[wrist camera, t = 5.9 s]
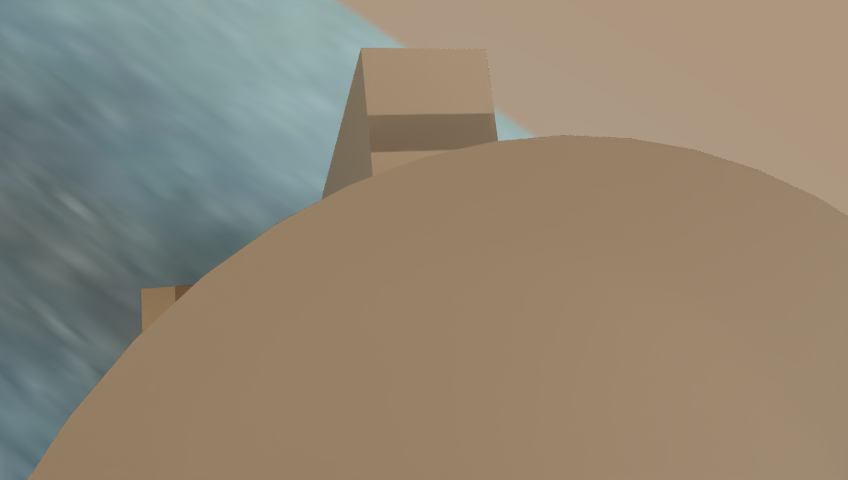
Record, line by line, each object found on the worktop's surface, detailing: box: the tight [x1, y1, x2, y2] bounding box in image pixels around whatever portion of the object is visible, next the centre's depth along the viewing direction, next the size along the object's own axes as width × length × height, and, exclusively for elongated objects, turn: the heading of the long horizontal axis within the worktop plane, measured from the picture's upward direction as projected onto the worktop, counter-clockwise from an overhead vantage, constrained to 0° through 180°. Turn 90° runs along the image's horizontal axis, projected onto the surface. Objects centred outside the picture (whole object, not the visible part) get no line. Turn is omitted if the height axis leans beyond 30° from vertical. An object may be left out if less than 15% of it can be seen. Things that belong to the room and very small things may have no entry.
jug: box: [28, 48, 848, 480], centre depth 9 cm, size 8×6×12 cm
